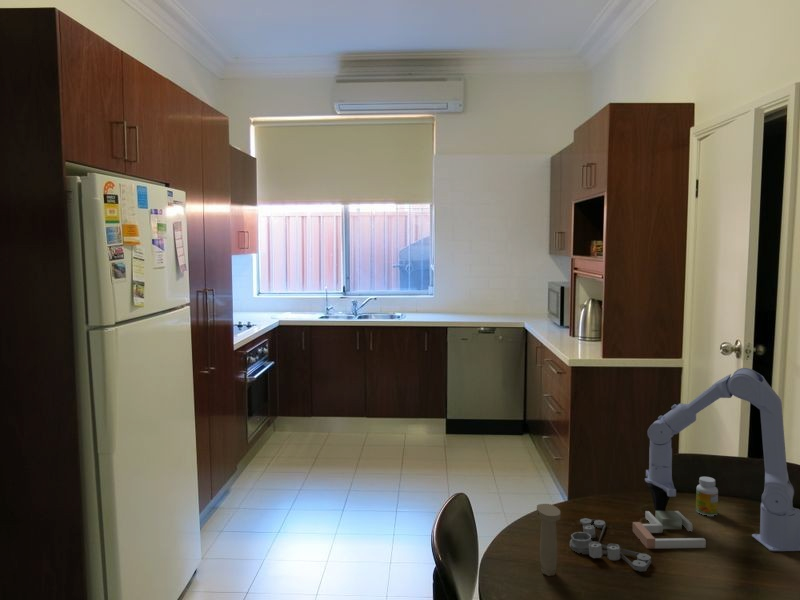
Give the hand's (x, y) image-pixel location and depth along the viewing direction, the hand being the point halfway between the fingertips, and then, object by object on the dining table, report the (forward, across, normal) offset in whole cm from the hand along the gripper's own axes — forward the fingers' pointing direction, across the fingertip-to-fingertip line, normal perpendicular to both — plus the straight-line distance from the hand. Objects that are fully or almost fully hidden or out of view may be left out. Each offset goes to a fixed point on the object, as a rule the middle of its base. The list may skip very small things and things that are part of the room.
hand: (659, 511), depth 158 cm
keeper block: (+2, +5, 0) cm, 5 cm away
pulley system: (+2, +16, -22) cm, 28 cm away
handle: (+2, +28, -38) cm, 47 cm away
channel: (+1, +9, -2) cm, 10 cm away
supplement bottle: (+2, -2, +14) cm, 14 cm away
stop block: (+1, +13, -10) cm, 17 cm away
